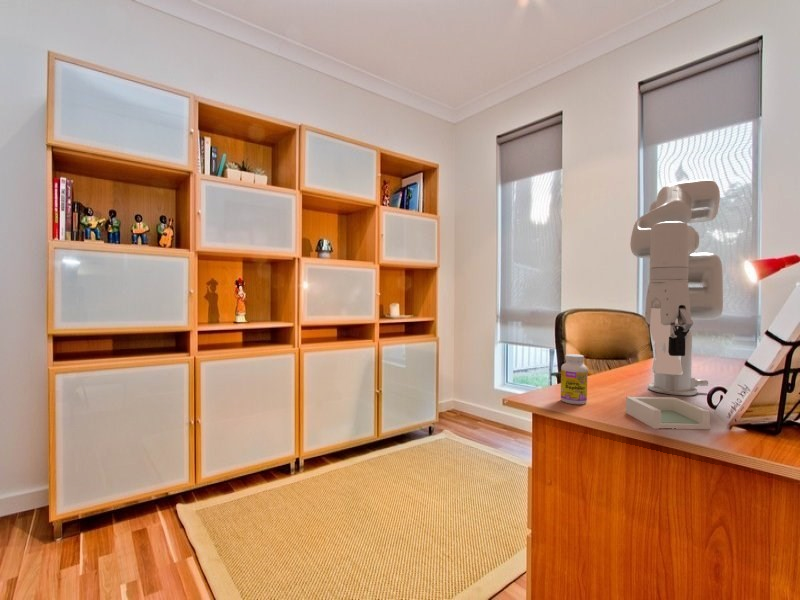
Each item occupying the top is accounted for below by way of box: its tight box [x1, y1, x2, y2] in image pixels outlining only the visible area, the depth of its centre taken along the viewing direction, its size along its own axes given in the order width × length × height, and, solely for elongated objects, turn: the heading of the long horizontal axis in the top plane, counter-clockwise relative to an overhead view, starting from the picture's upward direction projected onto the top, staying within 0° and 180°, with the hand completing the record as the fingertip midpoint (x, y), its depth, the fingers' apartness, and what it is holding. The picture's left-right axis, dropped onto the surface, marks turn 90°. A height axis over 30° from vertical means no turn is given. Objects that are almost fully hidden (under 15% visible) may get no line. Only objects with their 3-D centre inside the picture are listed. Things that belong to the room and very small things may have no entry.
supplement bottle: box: [560, 353, 588, 405], centre depth 113 cm, size 7×7×13 cm
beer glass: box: [649, 308, 683, 375], centre depth 96 cm, size 7×7×15 cm
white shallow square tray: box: [625, 396, 711, 430], centre depth 97 cm, size 12×12×4 cm
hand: (667, 352), depth 96 cm, fingers closed on beer glass, 6 cm apart
